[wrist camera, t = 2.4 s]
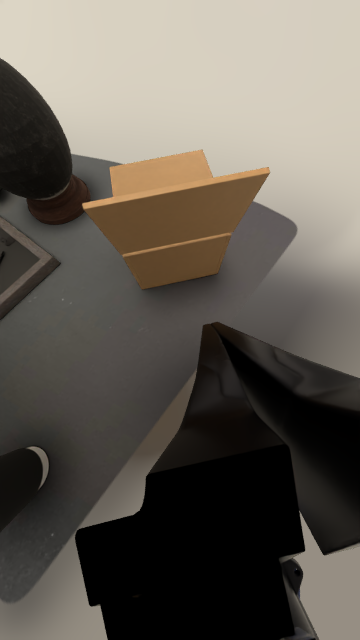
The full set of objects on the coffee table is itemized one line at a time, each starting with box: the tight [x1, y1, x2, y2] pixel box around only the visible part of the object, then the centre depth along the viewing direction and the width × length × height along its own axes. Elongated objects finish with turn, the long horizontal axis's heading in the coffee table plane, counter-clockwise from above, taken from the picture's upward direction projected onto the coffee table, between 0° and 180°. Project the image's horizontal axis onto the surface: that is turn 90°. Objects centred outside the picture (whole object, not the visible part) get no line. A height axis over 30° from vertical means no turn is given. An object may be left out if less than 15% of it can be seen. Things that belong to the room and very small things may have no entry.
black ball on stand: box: [0, 58, 90, 225], centre depth 22 cm, size 13×13×15 cm
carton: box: [110, 150, 231, 289], centre depth 22 cm, size 13×12×8 cm
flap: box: [82, 167, 270, 255], centre depth 13 cm, size 6×12×1 cm
